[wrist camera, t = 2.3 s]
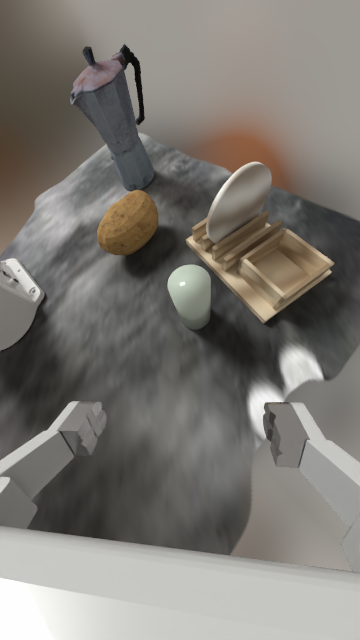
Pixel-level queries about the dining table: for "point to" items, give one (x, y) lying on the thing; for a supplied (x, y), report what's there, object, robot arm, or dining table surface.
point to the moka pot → (115, 113)
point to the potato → (128, 224)
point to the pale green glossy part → (191, 295)
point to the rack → (255, 246)
